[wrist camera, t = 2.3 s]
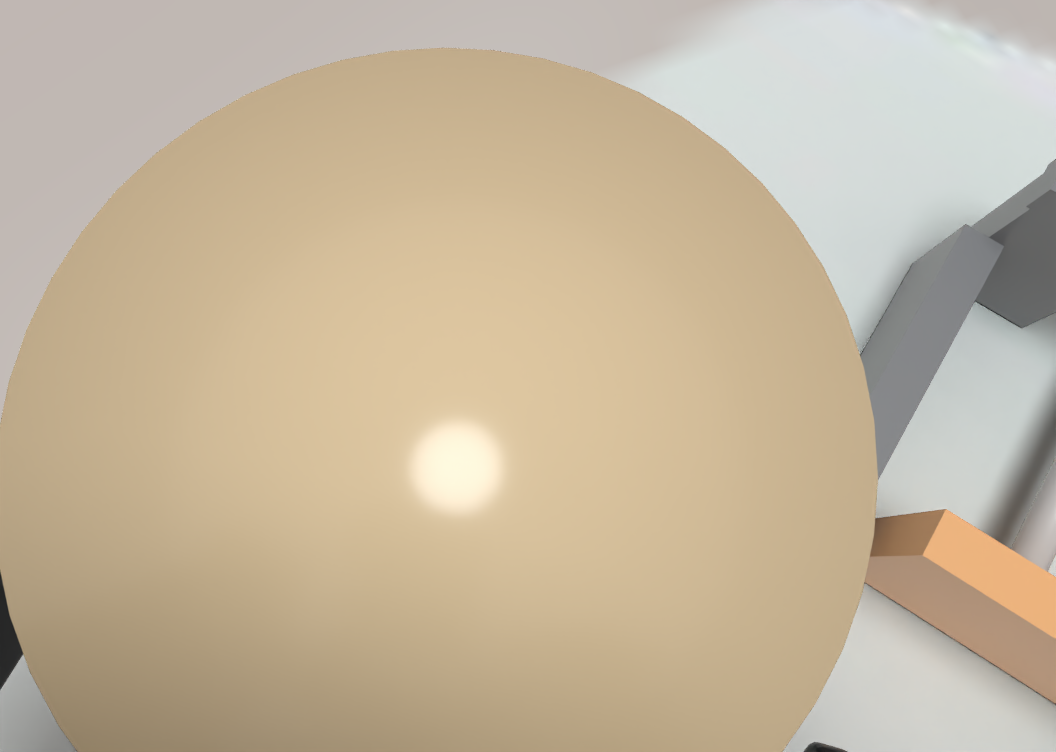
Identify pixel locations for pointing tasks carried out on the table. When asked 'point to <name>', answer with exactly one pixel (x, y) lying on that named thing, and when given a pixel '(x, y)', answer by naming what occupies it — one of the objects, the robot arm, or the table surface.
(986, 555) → the pusher
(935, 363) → the grey bracket
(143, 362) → the jar
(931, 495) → the table surface
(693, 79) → the table surface
